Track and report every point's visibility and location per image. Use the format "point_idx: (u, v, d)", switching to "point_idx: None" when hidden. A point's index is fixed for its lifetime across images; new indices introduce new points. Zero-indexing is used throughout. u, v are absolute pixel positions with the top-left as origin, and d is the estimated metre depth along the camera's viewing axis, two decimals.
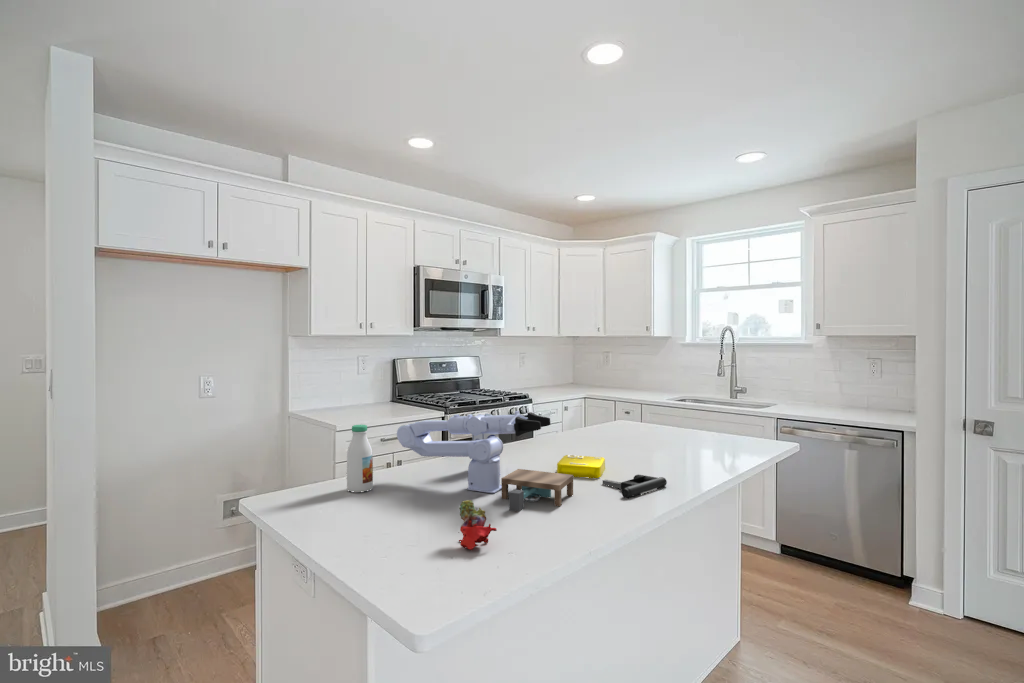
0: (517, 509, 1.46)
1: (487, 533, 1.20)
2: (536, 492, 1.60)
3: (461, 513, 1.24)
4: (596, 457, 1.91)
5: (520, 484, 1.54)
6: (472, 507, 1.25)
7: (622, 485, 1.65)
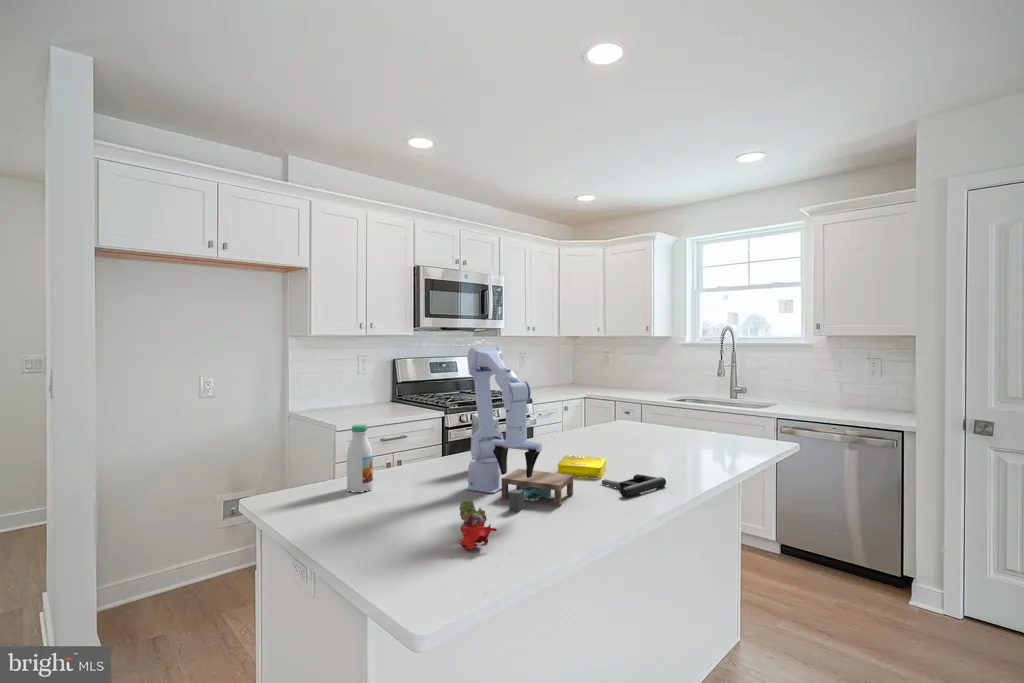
0: (517, 509, 1.46)
1: (487, 533, 1.20)
2: (536, 492, 1.60)
3: (461, 513, 1.24)
4: (597, 457, 1.91)
5: (520, 484, 1.54)
6: (472, 507, 1.25)
7: (621, 485, 1.65)
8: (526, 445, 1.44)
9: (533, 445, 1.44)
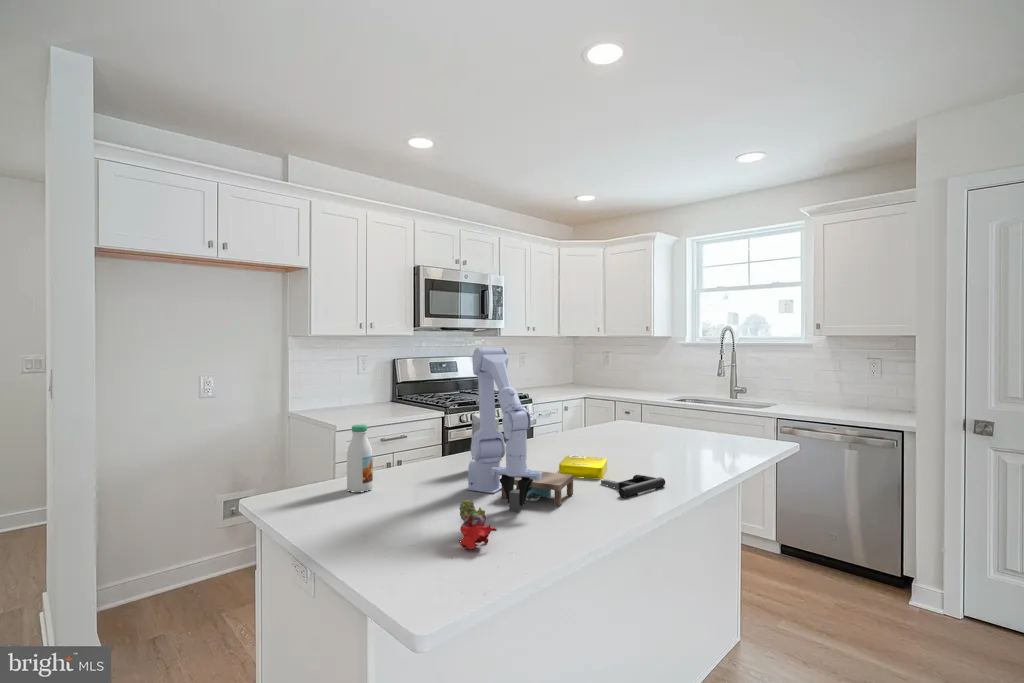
0: (517, 509, 1.46)
1: (487, 533, 1.20)
2: (536, 492, 1.60)
3: (461, 513, 1.24)
4: (598, 458, 1.91)
5: None
6: (472, 507, 1.25)
7: (620, 485, 1.65)
8: (526, 474, 1.44)
9: (533, 474, 1.44)
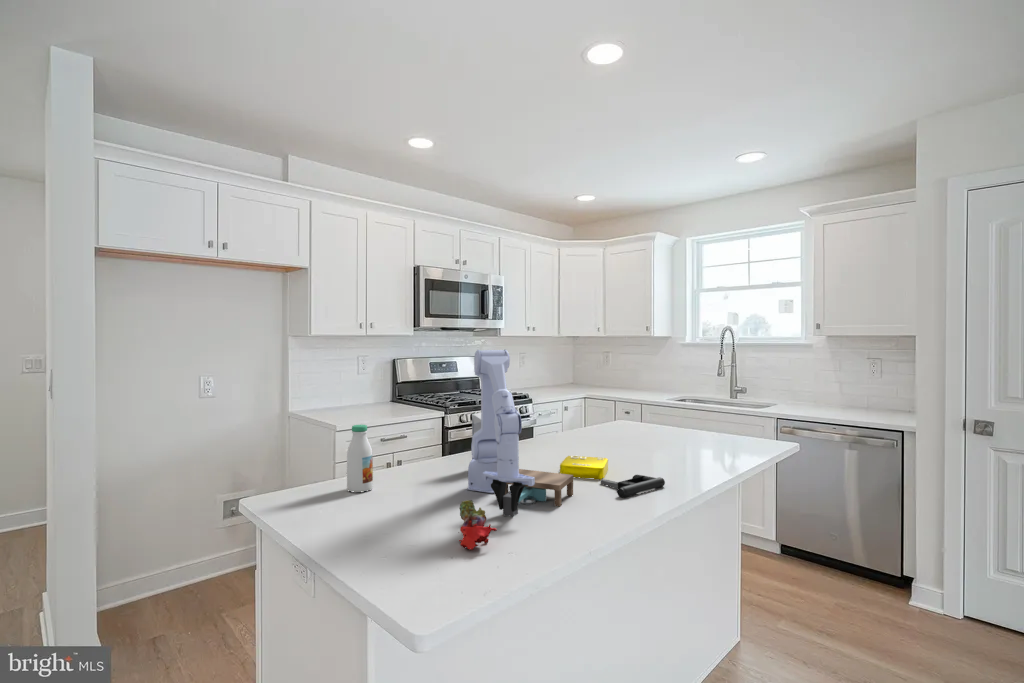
0: (511, 513, 1.42)
1: (487, 533, 1.20)
2: (531, 495, 1.56)
3: (461, 513, 1.24)
4: (599, 458, 1.90)
5: None
6: (472, 507, 1.25)
7: (619, 485, 1.65)
8: (518, 479, 1.39)
9: (525, 479, 1.39)
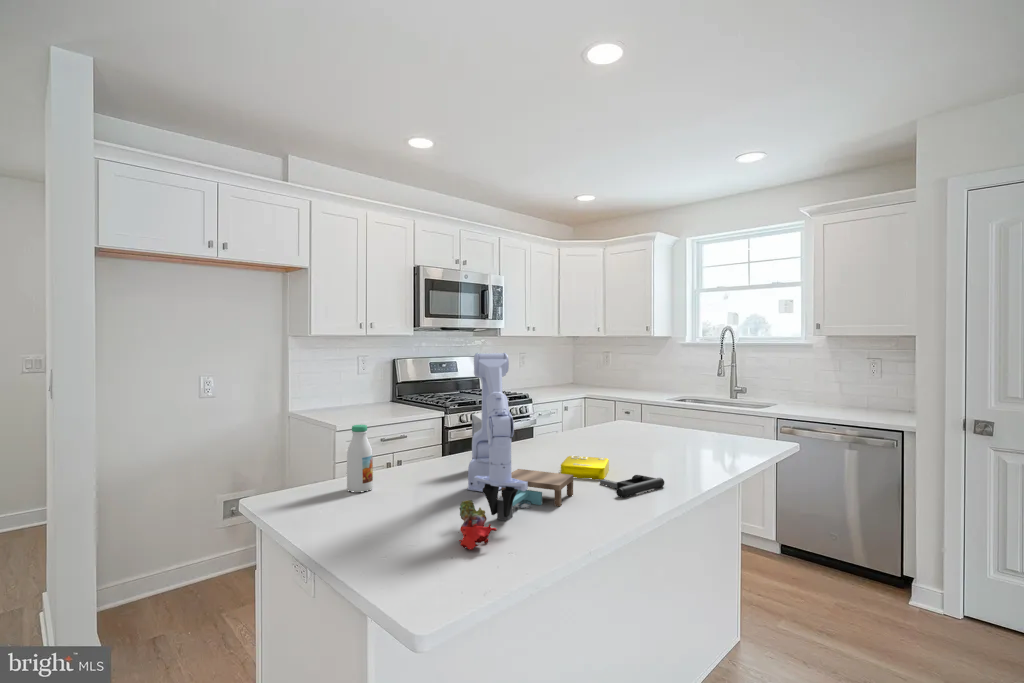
0: (505, 517, 1.39)
1: (487, 533, 1.20)
2: (526, 499, 1.53)
3: (461, 513, 1.24)
4: (600, 458, 1.90)
5: None
6: (472, 507, 1.25)
7: (618, 485, 1.65)
8: (510, 484, 1.35)
9: (518, 484, 1.35)
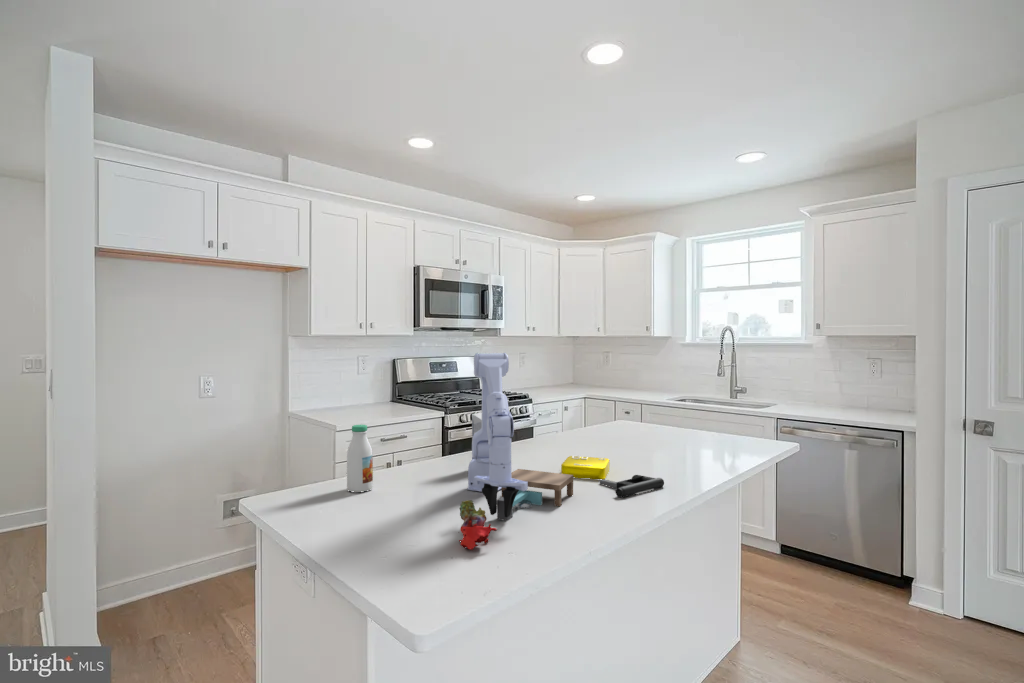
0: (505, 518, 1.39)
1: (487, 533, 1.20)
2: (526, 499, 1.53)
3: (461, 513, 1.24)
4: (600, 458, 1.90)
5: None
6: (472, 507, 1.25)
7: (618, 485, 1.65)
8: (510, 484, 1.35)
9: (518, 484, 1.35)
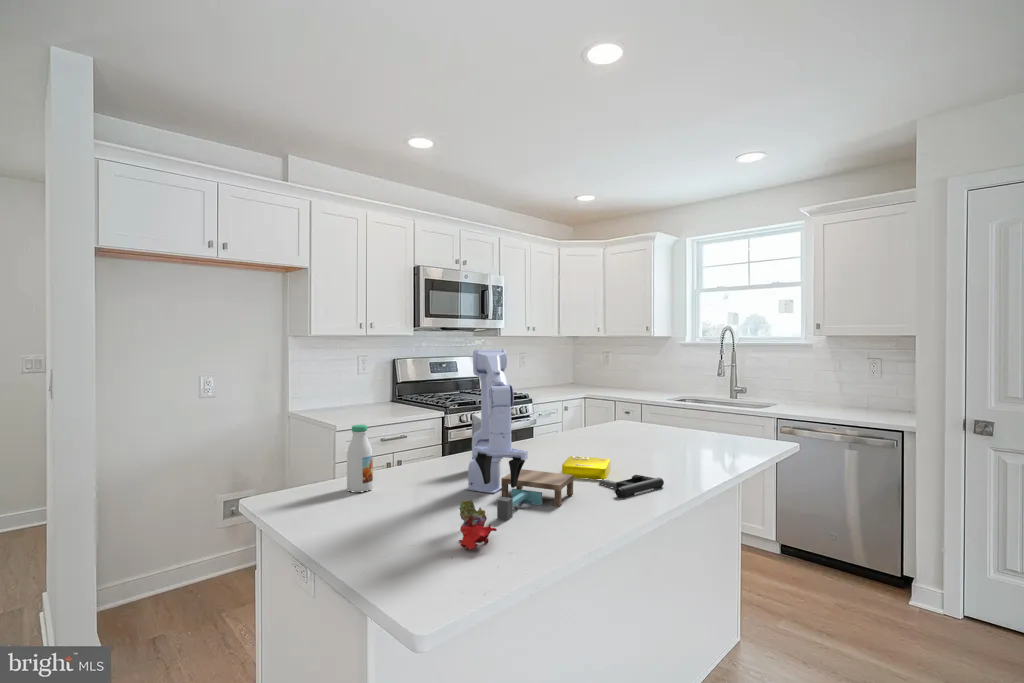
0: (505, 518, 1.39)
1: (487, 533, 1.20)
2: (526, 499, 1.53)
3: (461, 513, 1.24)
4: (601, 458, 1.89)
5: (520, 484, 1.54)
6: (472, 507, 1.25)
7: (618, 485, 1.65)
8: (510, 453, 1.35)
9: (518, 453, 1.35)
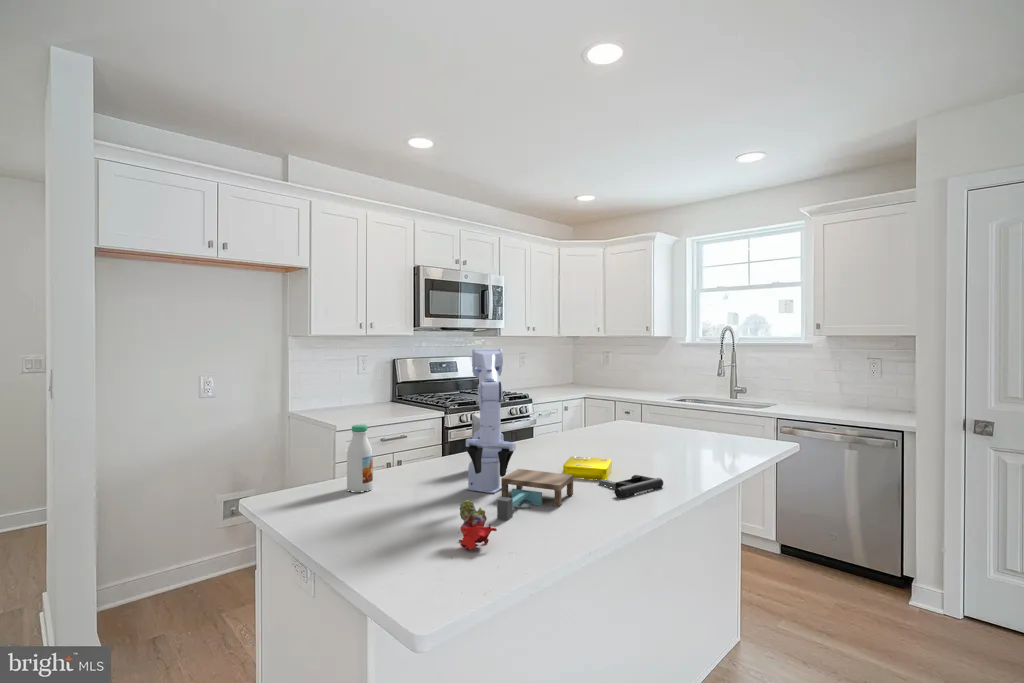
0: (505, 518, 1.39)
1: (487, 533, 1.20)
2: (526, 499, 1.53)
3: (461, 513, 1.24)
4: (602, 459, 1.89)
5: (520, 484, 1.54)
6: (472, 507, 1.25)
7: (617, 485, 1.65)
8: (499, 444, 1.45)
9: (506, 444, 1.45)
